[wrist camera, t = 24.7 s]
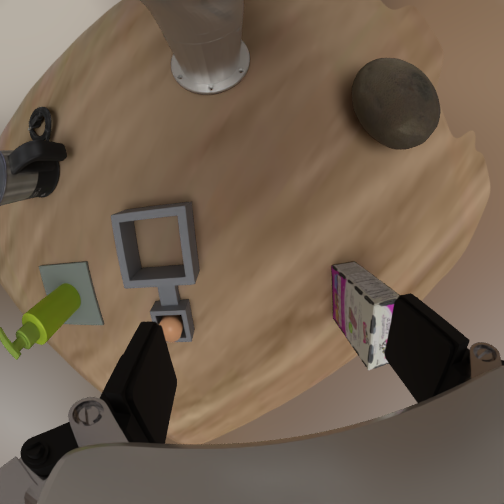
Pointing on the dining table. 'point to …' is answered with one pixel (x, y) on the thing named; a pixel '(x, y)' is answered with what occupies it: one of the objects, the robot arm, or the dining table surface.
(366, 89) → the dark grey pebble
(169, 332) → the tan ball
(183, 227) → the holder
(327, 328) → the dining table surface
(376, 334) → the candy bar box
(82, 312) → the mat
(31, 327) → the soap dispenser
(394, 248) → the dining table surface
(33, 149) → the milk frother
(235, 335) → the dining table surface
